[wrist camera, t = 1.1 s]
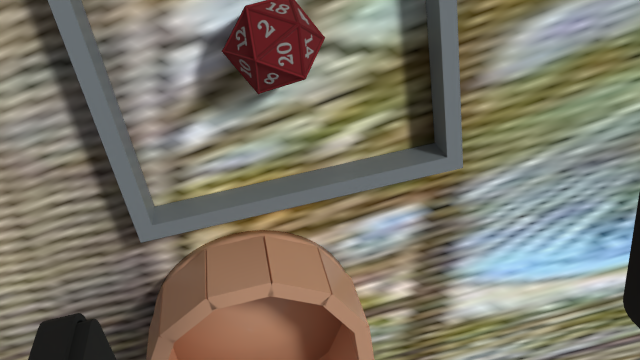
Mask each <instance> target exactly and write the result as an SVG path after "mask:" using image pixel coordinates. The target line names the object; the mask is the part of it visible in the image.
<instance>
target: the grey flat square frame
mask: <svg viewBox="0 0 640 360" xmlns="http://www.w3.org/2000/svg"><path fill="white" fill-rule="evenodd" d="M48 2H49V5H50V8H51V10H52V13H53V15H54V18H55V21H56V23H57V26H58V28H59V31H60V34H61V36H62V39H63V41H64V44H65V47H66V49H67V52H68V55H69V57H70V60H71V62H72V65H73V68H74V70H75V73H76V75H77V78H78V81H79V83H80V86H81V88H82V91H83V94H84V96H85V99H86V101H87V104H88V107H89V109H90V112H91V114H92V117H93V120H94V122H95V125H96V127H97V130H98V133H99V135H100V138H101V141H102V143H103V146H104V148H105V151H106V154H107V156H108V159H109V161H110V164H111V167H112V169H113V172H114V174H115V177H116V180H117V182H118V185H119V187H120V190H121V193H122V195H123V198H124V200H125V203H126V206H127V208H128V211H129V213H130V216H131V219H132V221H133V224H134V227H135V229H136V232H137V234H138V237H139V240H140V242H141V243H142V242H146V241H150V240H155V239H159V238H163V237H167V236H172V235H176V234H180V233H185V232H189V231H193V230H198V229H202V228H206V227H210V226H215V225H219V224H223V223H228V222H232V221H236V220H241V219H245V218H249V217H254V216H258V215H262V214H266V213H271V212H275V211H279V210H284V209H288V208H292V207H297V206H301V205H305V204H309V203H314V202H318V201H322V200H327V199H331V198H335V197H340V196H344V195H348V194H352V193H357V192H361V191H365V190H370V189H374V188H378V187H383V186H387V185H391V184H396V183H400V182H404V181H408V180H413V179H417V178H421V177H426V176H430V175H434V174H439V173H443V172H447V171H451V170H456V169H460V168H463V156H462V129H461V102H460V74H459V47H458V20H457V0H426V10H427V26H428V42H429V58H430V74H431V90H432V106H433V122H434V138H435V143H432V144H428V145H424V146H419V147H415V148H410V149H406V150H402V151H397V152H393V153H388V154H384V155H380V156H375V157H371V158H367V159H362V160H358V161H353V162H349V163H345V164H340V165H336V166H331V167H327V168H323V169H318V170H314V171H309V172H305V173H301V174H296V175H292V176H287V177H283V178H279V179H274V180H270V181H266V182H261V183H257V184H252V185H248V186H244V187H239V188H235V189H230V190H226V191H222V192H217V193H213V194H208V195H204V196H200V197H195V198H191V199H186V200H182V201H178V202H173V203H169V204H164V205H160V206H156V207H154V204H153V201H152V198H151V195H150V192H149V190H148V187H147V184H146V181H145V178H144V176H143V173H142V170H141V167H140V164H139V162H138V159H137V156H136V153H135V150H134V147H133V145H132V142H131V139H130V136H129V133H128V131H127V128H126V125H125V122H124V119H123V116H122V114H121V111H120V108H119V105H118V102H117V100H116V97H115V94H114V91H113V88H112V86H111V83H110V80H109V77H108V74H107V71H106V69H105V66H104V63H103V60H102V57H101V55H100V52H99V49H98V46H97V43H96V40H95V38H94V35H93V32H92V29H91V26H90V24H89V21H88V18H87V15H86V12H85V10H84V7H83V4H82V1H81V0H48Z"/></svg>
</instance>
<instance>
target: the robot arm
mask: <svg viewBox="0 0 640 360" xmlns="http://www.w3.org/2000/svg"><path fill="white" fill-rule="evenodd" d="M623 303H624V308H625V310H626V313H627V314H628V316H629V317H630V319H631V320H632V321H633V322H634V323H635V324H636V325H637V326H638V327H639V328H640V193H639V199H638V206H637V212H636V219H635V225H634V232H633V238H632V245H631V251H630V258H629V264H628V271H627V277H626V283H625V290H624V296H623ZM28 360H116V358H115V356H114V354H113V351H112V349H111V347H110V345H109V343H108V341H107V338H106V336H105V334H104V332H103V330H102V328H101V326H100V324H99V322H98V321H97V320H96V319H91V320H86V318H85V316H83V315H82V314H81V313H77V314H73V315H69V316H65V317H60V318H56V319H52V320H48V321H44V322H42V323H41V324H40V326H39V328H38V331H37V334H36V337H35V340H34V343H33V346H32V349H31V352H30V356H29V359H28Z"/></svg>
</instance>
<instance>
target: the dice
mask: <svg viewBox="0 0 640 360" xmlns="http://www.w3.org/2000/svg"><path fill="white" fill-rule="evenodd" d="M324 39H325V37H324V36H323V35H322V34H321V32H320V31H319V30H318V29H317V27H316V26H315V25H314V24H313V22H312V21H311V20H310V19H309V17H308V16H307V15H306V14H305V12H304V11H303V10H302V8H301V7H300V6H299V5H298V3H297V2H296V1H295V0H266V1H262V2H258V3H254V4H251V5H246V6H245V7H244V9H243V11H242V13H241V15H240V17H239V19H238V21H237V23H236V25H235V27H234V29H233V31H232V33H231V35H230V37H229V39H228V41H227V43H226V45H225V47H224V48H223V50H222V52H223V53H224V55H225V56H226V57H227V58H228V59H229V60H230V62H231V63H232V64H233V65H234V66H235V67H236V69H237V70H238V71H239V72H240V73H241V74H242V76H243V77H244V78H245V79H246V80H247V81H248V83H249V84H250V85H251V86H252V87H253V88H254V90H255V91H256V92H257V93H258V94H260V93H263V92H266V91H270V90H273V89H276V88H279V87H282V86H285V85H289V84H292V83H295V82H298V81H301V80H305V79H306V77H307V75H308V73H309V71H310V69H311V66H312V64H313V62H314V60H315V58H316V56H317V54H318V52H319V49H320V47H321V45H322V43H323V41H324Z"/></svg>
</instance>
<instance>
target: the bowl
mask: <svg viewBox="0 0 640 360" xmlns="http://www.w3.org/2000/svg"><path fill="white" fill-rule="evenodd" d="M146 360H374V355H373V348H372V342H371V335H370V329H369V325H368V322H367V319H366V317H365V314H364V311H363V309H362V306H361V303H360V301H359V298H358V295H357V292H356V290H355V287H354V284H353V282H352V279H351V277H350V276H349V275H347V274H346V272H345V270H344V269H343V267H342V266H341V264H340V263H339V262H338V261H337V259H336V258H335V257H334V256H333V255H332V254H331V253H329V252H328V251H327V250H326V249H324V248H323V247H322V246H320V245H318V244H317V243H315V242H313V241H311V240H308V239H306V238H304V237H301V236H298V235H294V234H291V233H286V232H280V231H267V230H259V231H246V232H241V233H235V234H231V235H228V236H224V237H221V238H218V239H216V240H214V241H211V242H209V243H207V244H205V245H203V246H201V247H200V248H198V249H196V250H194V251H193V252H192V253H190V254H189V255H188V256H186V257H185V258H184V259H183V260H182V261H180V262H179V263H178V264H177V265H176V266H175V267H174V269H173V270H172V271H171V272H170V273H169V275H168V276H167V278H166V279H165V281H164V283H163V284H162V286H161V288H160V291H159V293H158V296H157V299H156V304H155V309H154V315H153V318H152V321H151V324H150V328H149V337H148V346H147V356H146Z"/></svg>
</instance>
